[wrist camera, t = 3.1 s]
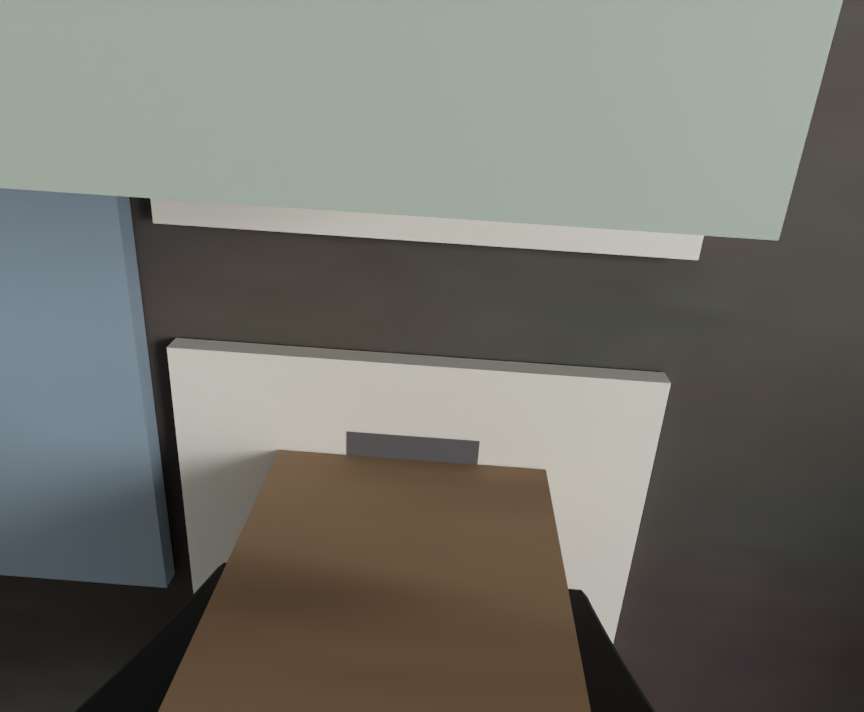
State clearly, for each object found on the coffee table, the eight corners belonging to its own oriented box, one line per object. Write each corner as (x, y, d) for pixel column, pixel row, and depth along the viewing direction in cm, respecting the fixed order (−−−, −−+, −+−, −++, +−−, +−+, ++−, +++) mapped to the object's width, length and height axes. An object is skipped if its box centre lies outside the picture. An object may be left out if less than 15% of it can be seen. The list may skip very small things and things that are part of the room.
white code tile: (589, 715, 15) (593, 734, 14) (211, 685, 15) (204, 702, 14) (664, 372, 11) (671, 383, 11) (175, 337, 11) (166, 347, 11)
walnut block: (516, 664, 13) (550, 1088, 8) (287, 647, 14) (165, 1053, 8) (545, 469, 12) (616, 847, 6) (279, 450, 12) (114, 804, 6)
